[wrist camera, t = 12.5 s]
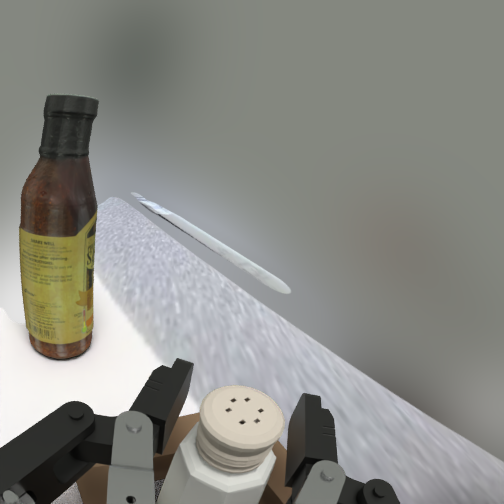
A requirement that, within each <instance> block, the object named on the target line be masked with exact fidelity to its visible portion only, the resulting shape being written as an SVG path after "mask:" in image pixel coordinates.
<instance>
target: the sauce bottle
mask: <svg viewBox="0 0 504 504" xmlns="http://www.w3.org/2000/svg"><path fill="white" fill-rule="evenodd" d="M98 103H99V101H98V99H96V98H93V97H88V96H82V95H71V94H50V95H48V96H47V99H46V102H45V107H44V119H45V121H44V127H43V133H42V140H41V146H40V148H39V154H40V158H39V160H38V162H37V164H36V165H35V167H34V169H33V170H32V172H31V174H30V175H29V176H28V178H27V179H26V182H25V184H24V186H23V190H22V194H21V223H20V226H19V241H20V242H19V247H20V269H21V283H22V295H23V304H24V311H25V320H26V327H27V328H28V331H29V337H30V342H31V344H32V345H33V347H34V348H35V349H36V350H37V351H38V352H40V353H42V354H43V355H45V356H48V357H51V358H56V359H63V358H70V357H75V356H77V355H80V354H82V353H83V352H84V351H85V350H87V348H88V347H89V346H90V343H91V339H92V329H93V282H94V276H93V274H94V254H95V232H96V221H97V208H98V207H97V201H96V197H95V191H94V186H93V181H92V175H91V169H90V163H89V158H88V154H89V141H90V136H91V130H92V123H93V120H94V119H95V118H96V116H97V109H98Z"/></svg>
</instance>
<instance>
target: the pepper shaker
mask: <svg viewBox="0 0 504 504" xmlns="http://www.w3.org/2000/svg"><path fill="white" fill-rule="evenodd" d="M284 426H285V420H284V416H283V413H282V411H281V410H280V408H279V407H278V405H277V403H276V402H274V401H273V400H272V399H271V398H270V397H269V396H267V395H266V394H264V393H263V392H261V391H258V390H256V389H254V388H250V387H246V386H238V385H232V386H224V387H221V388H218V389H215V390H213V391H212V392H210V393H209V394H207V395H206V397H205V398H204V399H203V400H202V403H201V406H200V420H199V422H197V423H196V424H195V426H194V427H193V428H192V429H191V430H190V432H189V433H188V434H187V436H186V437H185V438H184V439H183V441H182V442H181V443H180V445H179V447H178V449H177V451H176V453H175V455H174V457H173V460H172V463H171V465H170V468H169V470H168V473H167V475H166V478H165V481H164V483H163V486H162V488H161V491H160V494H159V496H158V499H157V501H156V504H258V503H259V501H260V499H261V496H262V494H263V492H264V489H265V487H266V484H267V482H268V480H269V477H270V475H271V472H272V470H273V467H274V464H275V460H276V456H275V455H274V453H273V451H272V450H271V449H272V447H273V445H274V444H275V443H276V442H277V440H278V439H279V438H280V437H281V435H282V433H283V430H284Z"/></svg>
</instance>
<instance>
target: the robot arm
mask: <svg viewBox="0 0 504 504" xmlns="http://www.w3.org/2000/svg"><path fill="white" fill-rule="evenodd" d="M193 366H194V363H191V362H188V361H185V360H182V359H179V358H177V359H176V361H175V362H174V364H173V366H172V368H169V367H166V366H163V365H162V366H160V367H158V368H157V369H155V370H153V372H152V374H151V375H150V377H149V379H148V380H147V382H146V383H145V386H144V387H143V388H142V390H141V392H140V393H139V395H138V396H137V398H136V400H135V401H134V403H133V405H132V406H131V408H130V409H129V411H126V412H123V413H121V414H120V415H119V416H116V417H109V416H102V415H96V414H94V412H93V410H92V409H91V408H90V407H89V406H88V405H87V404H85V403H82V402H79V401H71V402H67V403H65V404H64V405H62V406H61V407H59V408H58V409H56V410H55V411H54V412H52V413H51V414H49V415H48V416H46V417H45V418H43V419H42V420H41V421H39V422H38V423H36V424H35V425H33V426H32V427H30V428H29V429H27V430H26V431H25V432H23V433H22V434H20V435H19V436H17V437H16V438H14V439H13V440H11V441H10V442H8V443H7V444H6V445H4V446H3V447H1V448H0V504H51V503H52V502H53V501H54V500H55V499H56V498H58V497H59V496H60V495H61V494H62V493H63V492H65V491H66V490H67V489H68V488H69V487H70V486H72V485H73V484H74V483H75V482H76V481H77V480H78V479H79V478H81V477H82V476H83V475H84V474H85V473H86V472H87V471H88V470H90V469H91V468H92V467H93V466H94V465H95V464H96V463H98V464H104V465H109V473H108V488H107V504H155V487H154V470H153V458H154V455H155V453H158V454H161V455H162V454H163V451H164V449H165V447H166V444H167V442H168V440H169V437H170V435H171V433H172V431H173V428H174V426H175V424H176V421H177V419H178V417H179V414H180V412H181V410H182V407H183V405H184V403H185V400H186V398H187V395H188V391H189V387H190V382H191V376H192V371H193ZM334 428H335V425H334V418H333V416H332V414H331V413H330V411H329V409H323V408H321V397H320V396H316V395H311V394H307V393H303V394H302V396H301V398H300V400H299V402H298V404H297V406H296V408H295V410H294V412H293V414H292V416H291V419H290V422H289V427H288V441H287V457H286V471H285V485H284V487H290V488H292V494H291V496H290V497H289V498H288V500H287V502H286V504H400V502H399V500H398V498H397V496H396V494H395V492H394V490H393V488H392V486H391V485H390V484H389V483H387V482H386V481H384V480H381V479H373V480H370V481H368V482H367V483H366V484H365V483H362V482H359V481H356V480H353V479H351V478H349V477H347V476H346V475H345V472H344V470H343V468H342V467H341V466H340V465H338V459H337V447H336V437H335V429H334Z"/></svg>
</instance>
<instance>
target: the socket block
mask: <svg viewBox="0 0 504 504" xmlns="http://www.w3.org/2000/svg"><path fill="white" fill-rule="evenodd" d="M199 420H200V413H195V414H190V415H186V416H181V417H178V419H177V421H176V424H175V426H174V428H173V431H172V433H171V435H170V437H169V440H168V442H167V444H166V447H165V449H164V451H163V454H162V455H161V454H158V453H155V455H154V458H153V470H154V481H156V480H160V479H165V478H166V475H167V473H168V470H169V468H170V465H171V463H172V460H173V457H174V455H175V453H176V451H177V449H178V447H179V445H180V443H181V442H182V441H183V439H184V438H185V437H186V436H187V434H188V433H189V432H190V430H191V429H192V428H193V427H194V426H195V424H196V423H197V422H199ZM271 450H272V451H273V453H274V455H275V456H276V460H275V464H274V467H273V470H272V472H271V475H270V477H269V480H268V482H267V484H266V487H265V489H264V492H263V494H262V496H261V499H260V501H259V503H258V504H286V502H287V500H288V498H289V497H290V496H291V494H292V488H290V487H284V485H285V471H286V457H287V450H286V449H285V448H284V447H283V446H282V445H281V443H280V442H279V441H278V440H277V442H276V443H275V444H274V445H273V447H272V449H271ZM108 473H109V465H104V464H98V463H96V464H95V465H94V466H93V467H92V468H91V469H90V470H88V471H87V472H86V473H85V474H84V475H83V476H82V477H81V478H79V479H78V480H77V481H76V482H77V486H78V489H79V492H80V495H81V498H82V501H83V504H107V488H108Z"/></svg>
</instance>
